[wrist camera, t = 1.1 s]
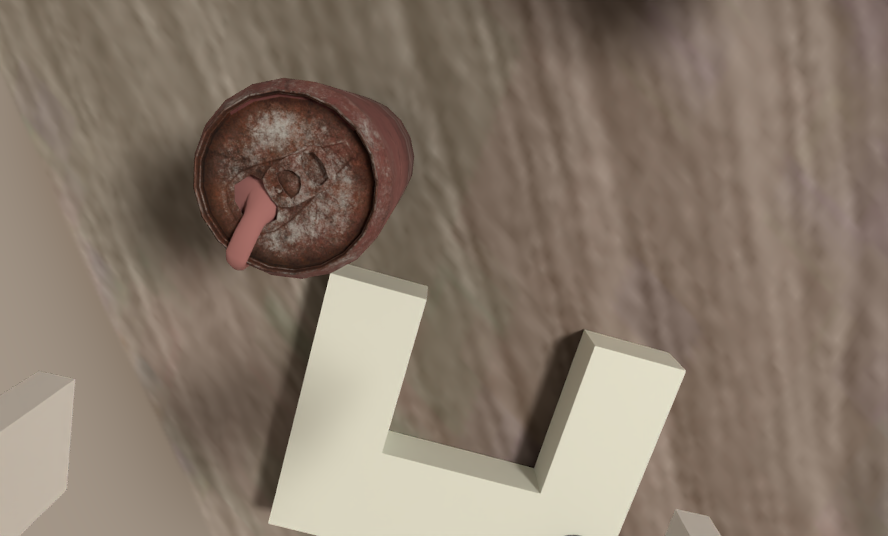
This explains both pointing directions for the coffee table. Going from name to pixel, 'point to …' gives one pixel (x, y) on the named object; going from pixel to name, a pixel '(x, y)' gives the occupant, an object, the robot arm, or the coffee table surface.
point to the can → (300, 176)
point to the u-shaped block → (448, 468)
